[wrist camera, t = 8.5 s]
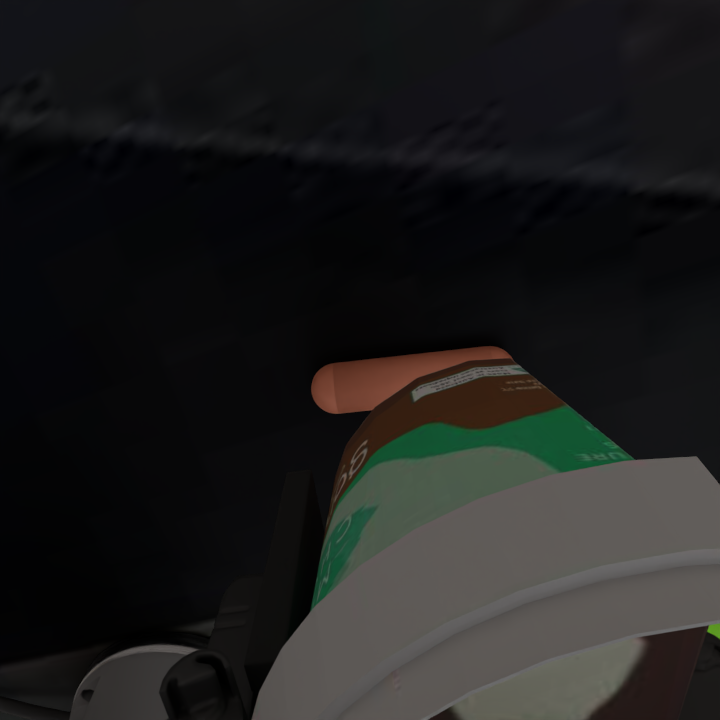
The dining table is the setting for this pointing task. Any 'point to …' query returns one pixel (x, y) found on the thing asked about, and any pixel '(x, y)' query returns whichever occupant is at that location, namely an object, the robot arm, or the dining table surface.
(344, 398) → the sausage
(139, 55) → the dining table surface
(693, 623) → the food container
